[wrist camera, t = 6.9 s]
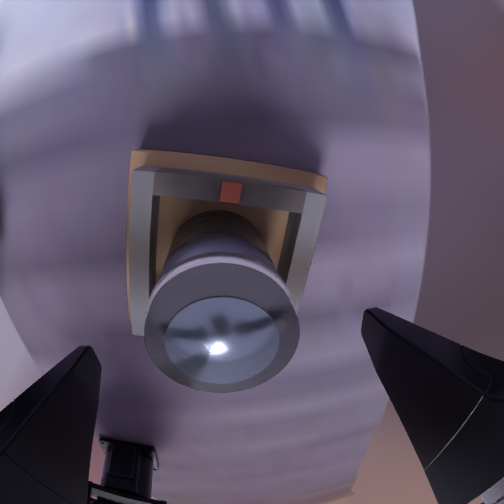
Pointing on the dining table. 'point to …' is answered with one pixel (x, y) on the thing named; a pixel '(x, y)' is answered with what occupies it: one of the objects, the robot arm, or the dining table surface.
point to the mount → (217, 198)
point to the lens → (220, 308)
